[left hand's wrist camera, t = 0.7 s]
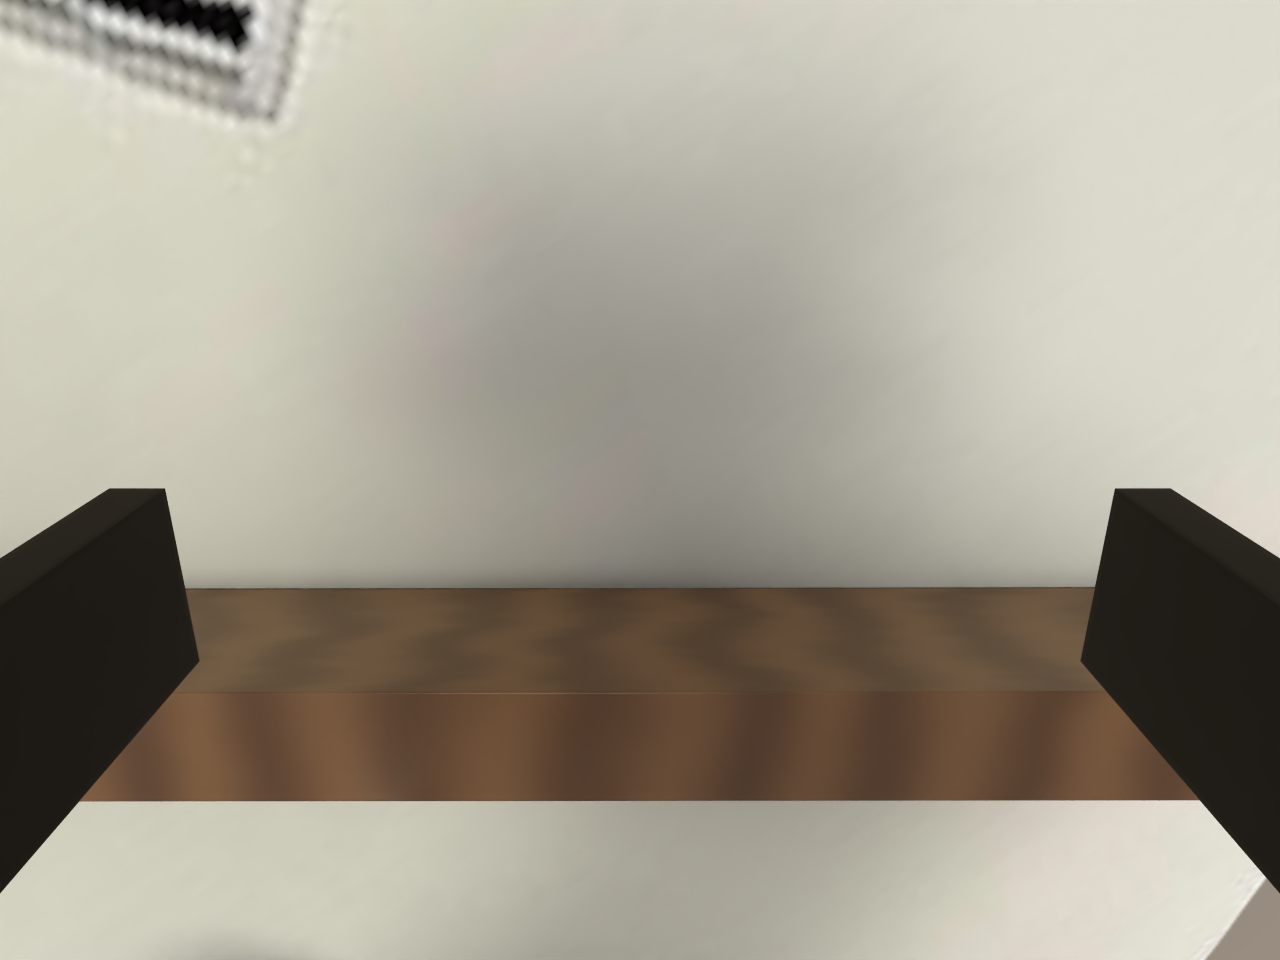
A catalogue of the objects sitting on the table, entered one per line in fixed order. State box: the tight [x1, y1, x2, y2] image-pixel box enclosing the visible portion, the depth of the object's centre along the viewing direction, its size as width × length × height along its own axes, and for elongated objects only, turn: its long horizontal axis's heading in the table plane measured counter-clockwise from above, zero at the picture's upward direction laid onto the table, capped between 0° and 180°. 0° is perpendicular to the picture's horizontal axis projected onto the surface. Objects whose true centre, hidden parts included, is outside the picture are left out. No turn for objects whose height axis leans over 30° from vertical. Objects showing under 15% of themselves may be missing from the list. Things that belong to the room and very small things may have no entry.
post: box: [80, 588, 1199, 801], centre depth 37 cm, size 74×5×8 cm, turn 90°
